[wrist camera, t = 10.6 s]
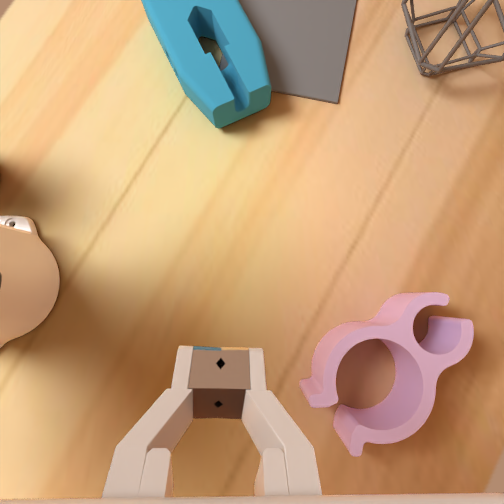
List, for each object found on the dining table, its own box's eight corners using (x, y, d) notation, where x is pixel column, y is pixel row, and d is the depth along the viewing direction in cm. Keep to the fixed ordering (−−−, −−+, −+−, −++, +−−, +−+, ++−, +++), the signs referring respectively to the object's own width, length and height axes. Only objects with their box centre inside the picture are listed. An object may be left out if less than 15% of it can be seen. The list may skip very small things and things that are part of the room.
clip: (394, 271, 44) (421, 266, 38) (459, 342, 43) (498, 350, 36) (285, 370, 43) (292, 384, 36) (349, 447, 41) (369, 477, 34)
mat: (216, 80, 48) (216, 78, 47) (247, -46, 51) (247, -49, 50) (336, 104, 47) (337, 102, 47) (360, -25, 50) (361, -27, 50)
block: (280, 101, 47) (222, -6, 50) (283, 77, 42) (219, -40, 45) (204, 135, 46) (150, 24, 49) (199, 114, 41) (138, -7, 44)
